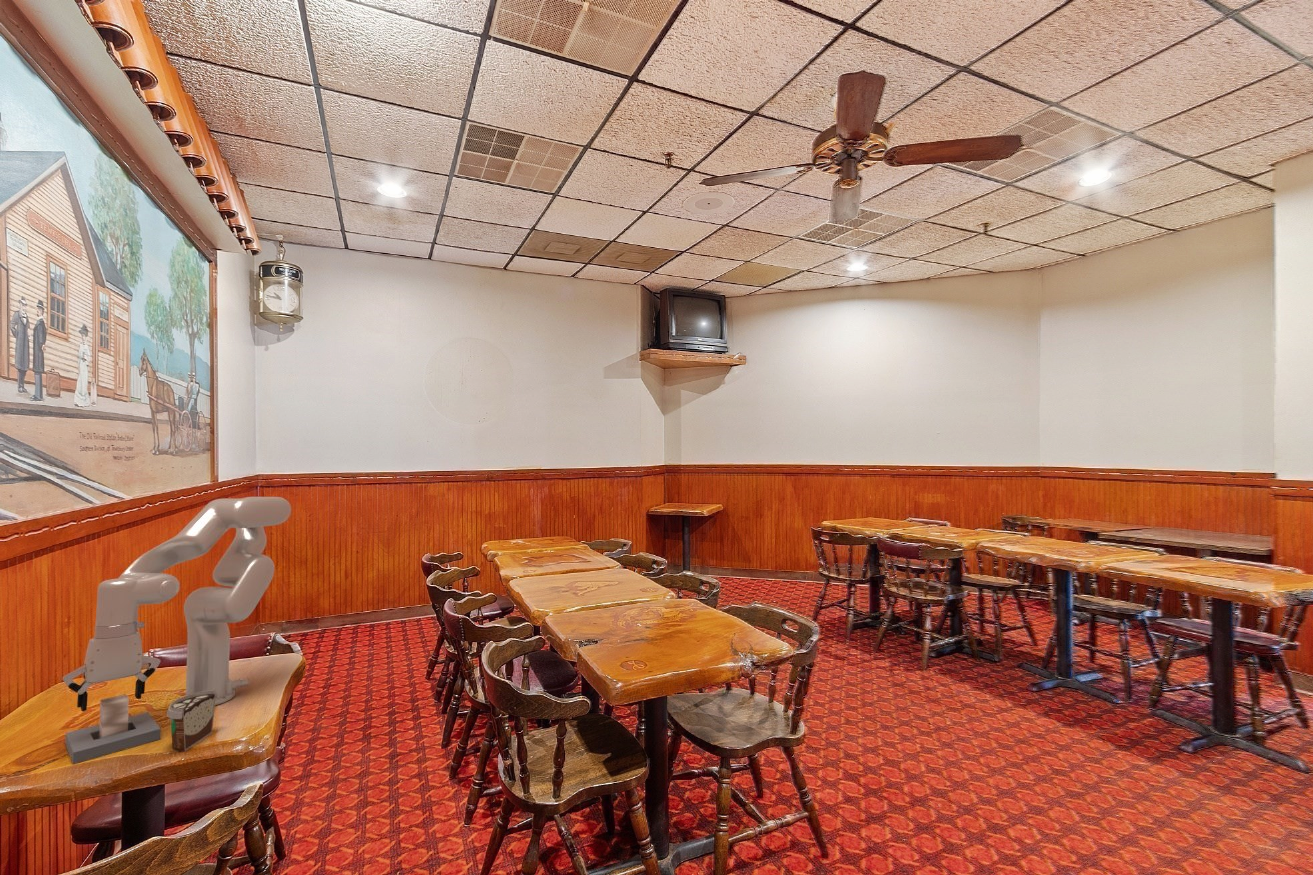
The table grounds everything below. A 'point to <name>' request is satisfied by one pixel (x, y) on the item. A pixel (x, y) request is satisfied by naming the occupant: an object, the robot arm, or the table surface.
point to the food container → (191, 719)
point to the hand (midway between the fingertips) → (111, 703)
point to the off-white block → (113, 715)
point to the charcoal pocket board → (111, 738)
